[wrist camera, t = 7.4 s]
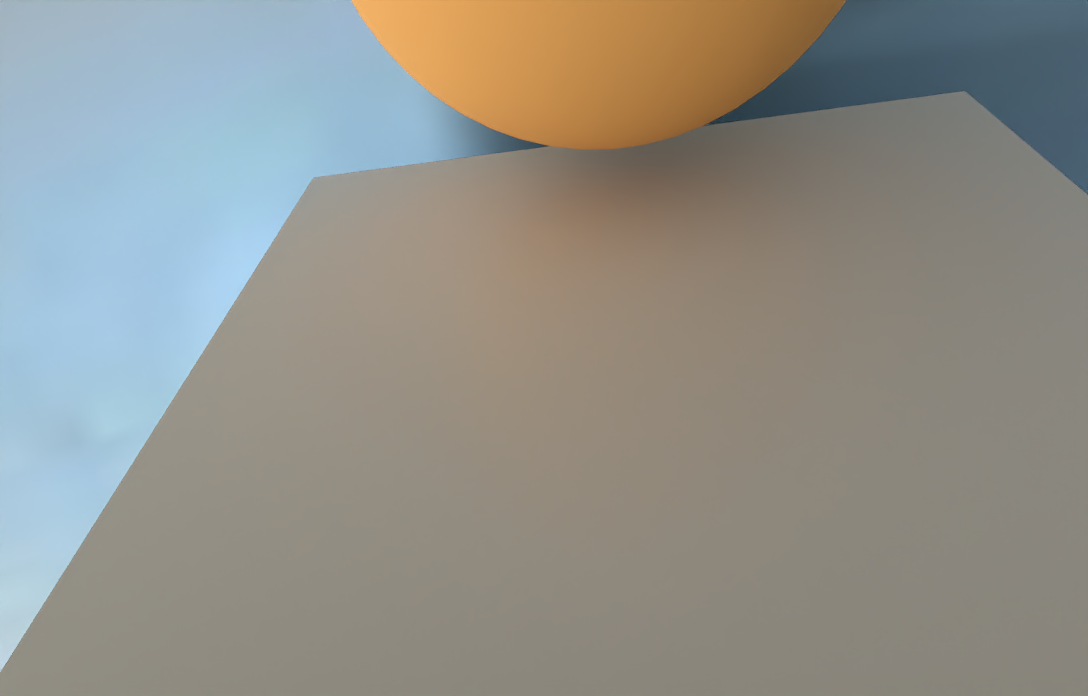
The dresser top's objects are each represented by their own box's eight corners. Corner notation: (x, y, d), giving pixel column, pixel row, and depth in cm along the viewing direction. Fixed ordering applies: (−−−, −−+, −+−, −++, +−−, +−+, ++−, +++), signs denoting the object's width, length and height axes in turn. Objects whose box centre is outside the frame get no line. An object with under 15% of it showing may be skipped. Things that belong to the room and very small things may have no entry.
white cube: (884, 530, 13) (1156, 1208, 7) (451, 559, 14) (354, 1182, 8) (964, 90, 9) (1980, 952, 2) (313, 177, 9) (-183, 958, 3)
